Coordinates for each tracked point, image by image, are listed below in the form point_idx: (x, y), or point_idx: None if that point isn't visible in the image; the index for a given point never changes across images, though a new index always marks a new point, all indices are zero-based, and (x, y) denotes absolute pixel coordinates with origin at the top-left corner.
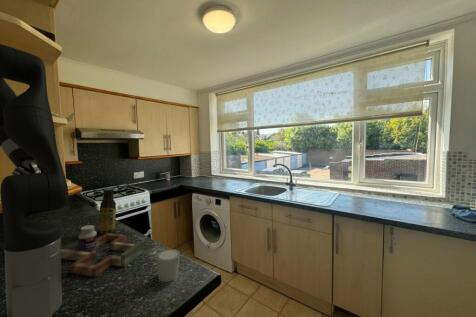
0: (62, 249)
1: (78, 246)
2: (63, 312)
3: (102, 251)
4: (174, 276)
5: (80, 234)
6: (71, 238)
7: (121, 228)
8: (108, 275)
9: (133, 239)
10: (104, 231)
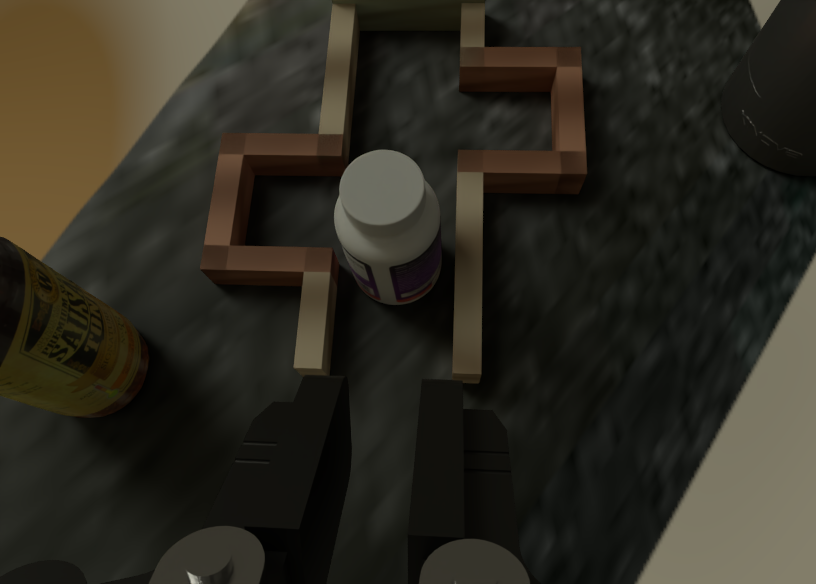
0: (458, 360)
1: (430, 270)
2: None
3: None
4: None
5: (419, 230)
6: None
7: None
8: (552, 36)
9: (211, 132)
10: (141, 344)
